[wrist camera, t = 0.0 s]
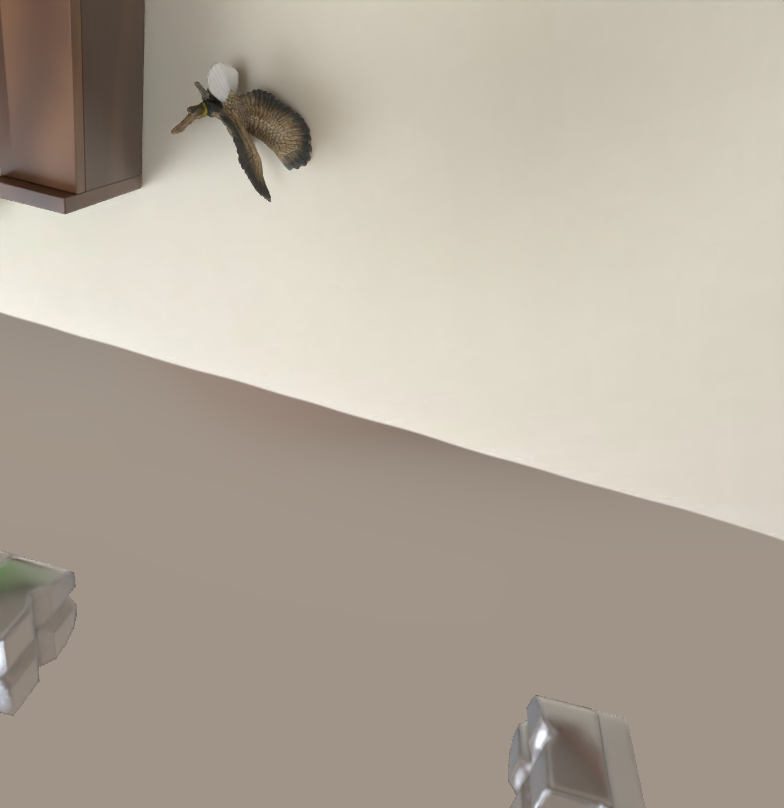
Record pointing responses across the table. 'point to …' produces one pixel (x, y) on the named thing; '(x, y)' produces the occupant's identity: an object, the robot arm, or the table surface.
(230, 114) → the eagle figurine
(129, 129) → the shelf
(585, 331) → the table surface
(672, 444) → the table surface
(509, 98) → the table surface
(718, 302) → the table surface
